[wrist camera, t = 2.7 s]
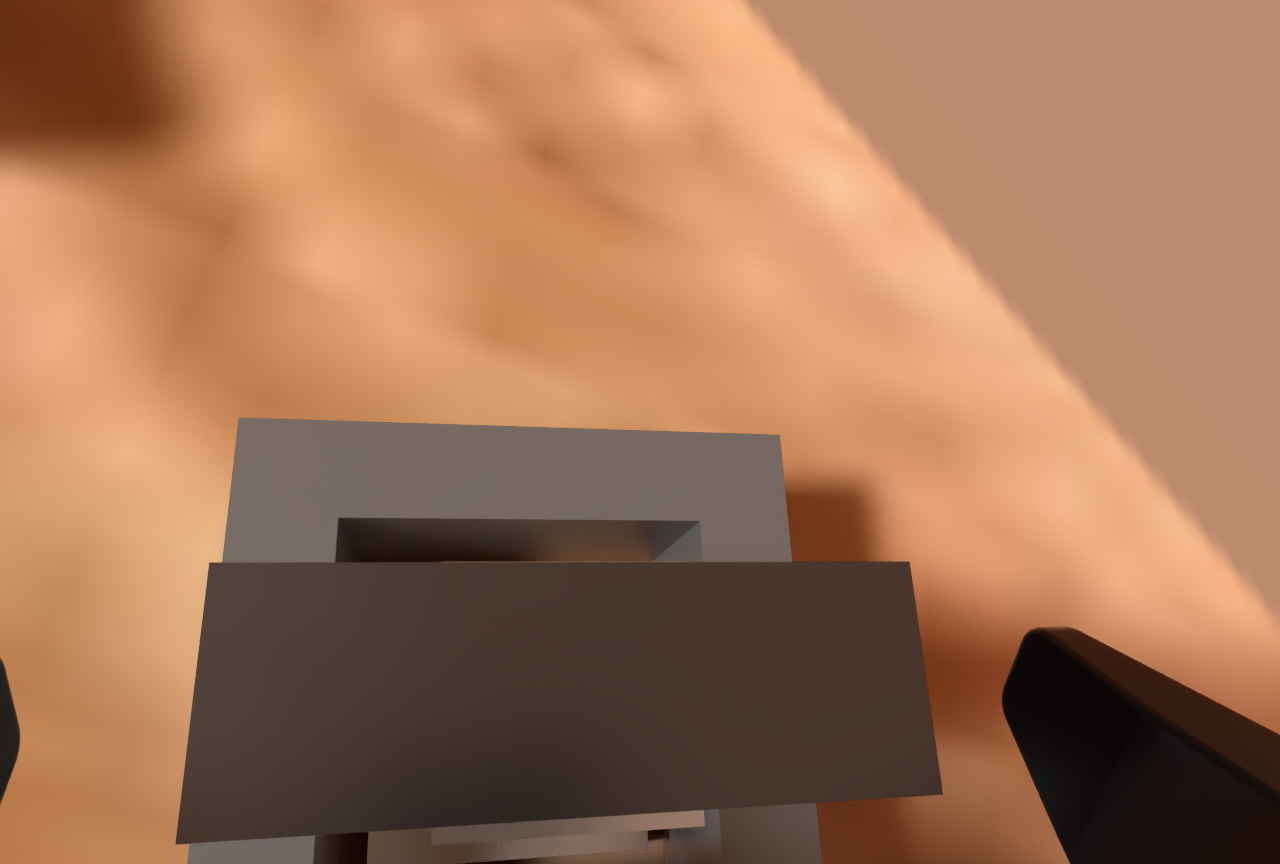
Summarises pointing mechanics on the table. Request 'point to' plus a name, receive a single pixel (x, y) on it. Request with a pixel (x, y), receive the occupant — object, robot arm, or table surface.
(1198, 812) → the robot arm
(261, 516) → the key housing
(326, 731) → the t key
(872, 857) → the table surface
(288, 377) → the table surface
